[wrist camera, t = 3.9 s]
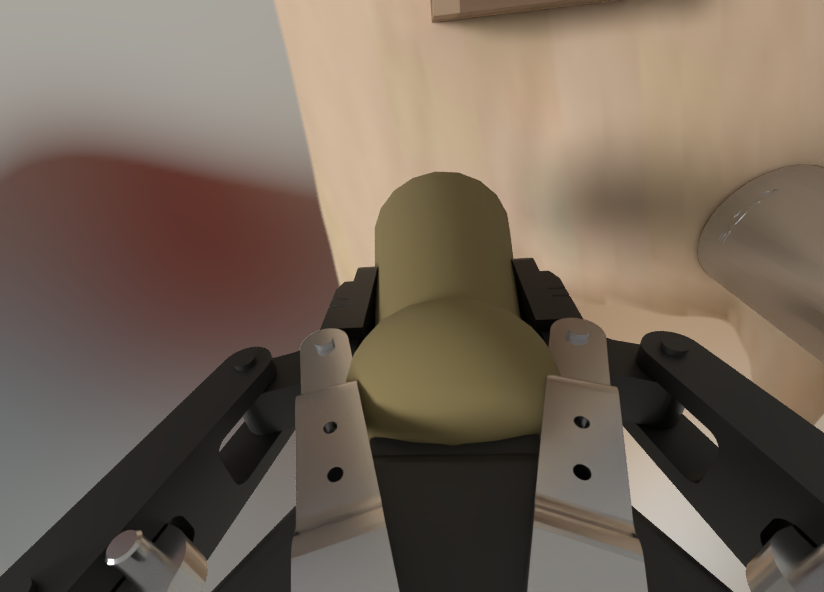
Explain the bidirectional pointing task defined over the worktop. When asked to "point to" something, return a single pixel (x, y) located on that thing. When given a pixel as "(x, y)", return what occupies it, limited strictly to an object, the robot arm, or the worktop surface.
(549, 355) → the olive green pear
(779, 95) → the worktop surface
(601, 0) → the wooden divided tray
